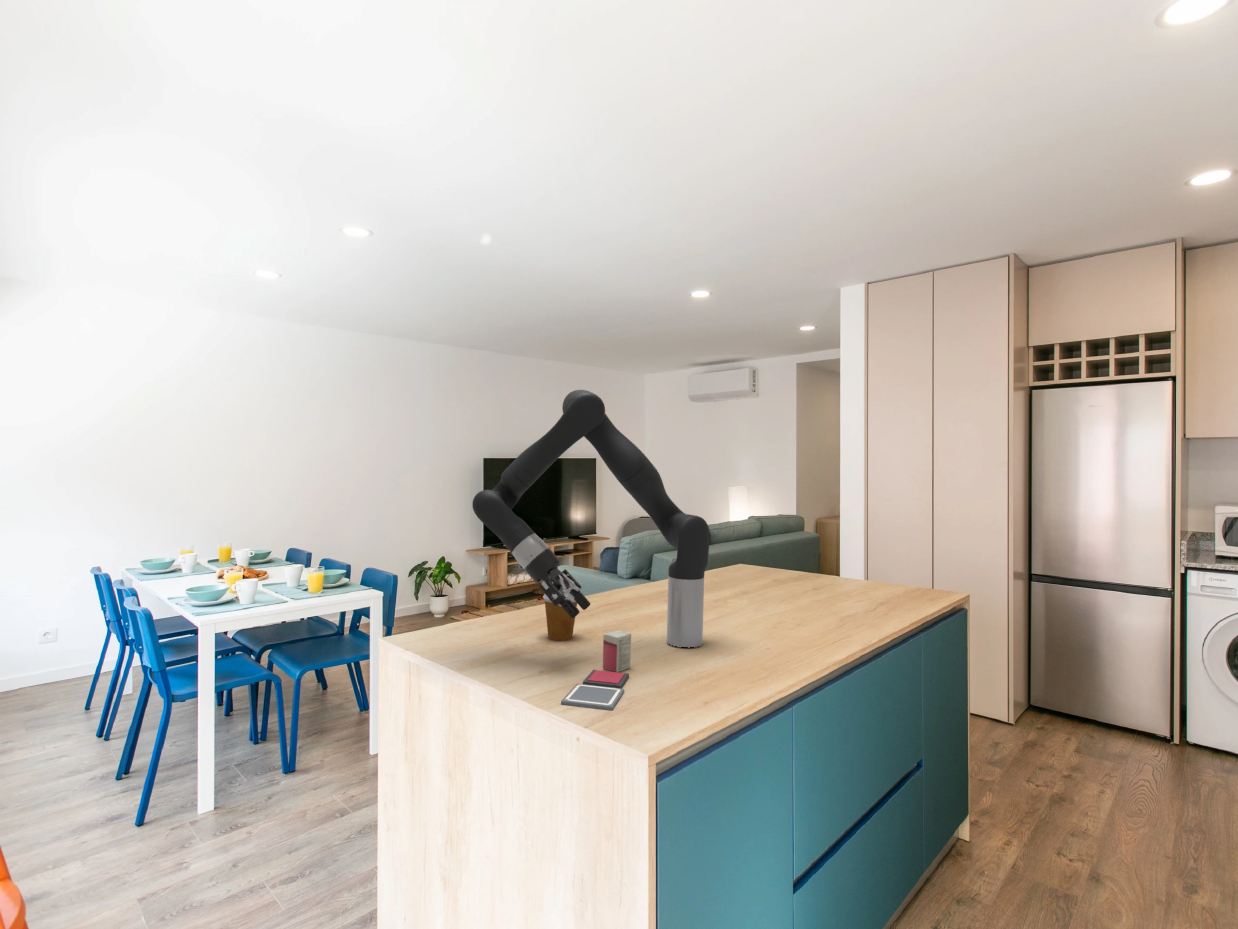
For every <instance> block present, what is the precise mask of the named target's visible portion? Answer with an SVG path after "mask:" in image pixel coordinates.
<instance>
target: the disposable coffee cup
mask: <svg viewBox="0 0 1238 929" xmlns="http://www.w3.org/2000/svg"><path fill="white" fill-rule="evenodd" d="M567 596H568V598H569V599H570V600H571V601H572V603H573V604H574V605H575V606H576V607H577V608H578V603H577V602H576V601H575V600H574V598H575V597H574V598H573V597H571V596H570V595H568V594H567ZM542 598H543V600H544V606H545V607H544V608H545V616H546V617H545V619H546V626H547V627H546V628H547V630H546V631H547V637H548V639H549V640H552V641H558V640H563V641H569V640H571V639H573V634H574V627H575V621H576V617H574V618H571V617H570V615H569V614H568V613H567V612H566V611H565V610H564V608H563V607H562V606H559V605H557V606H555V605H554V604H553V603H552V602H551V600H550V599H549V598H548V597H547V595H546V594H545V593H544V595H543V596H542ZM569 599H568V600H569ZM568 639H569V640H568Z"/></svg>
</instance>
